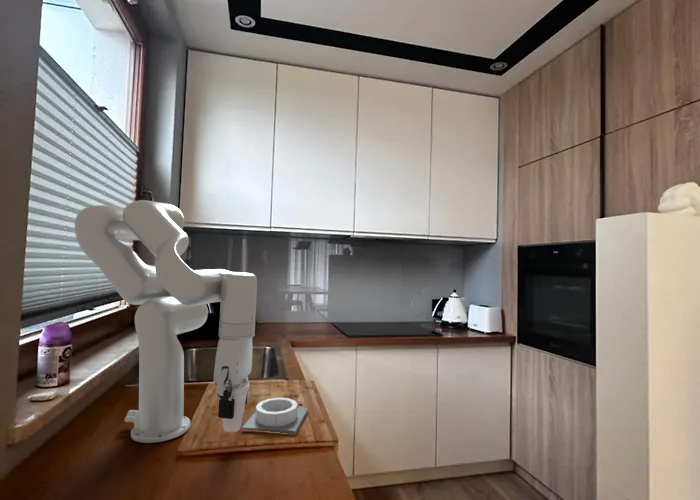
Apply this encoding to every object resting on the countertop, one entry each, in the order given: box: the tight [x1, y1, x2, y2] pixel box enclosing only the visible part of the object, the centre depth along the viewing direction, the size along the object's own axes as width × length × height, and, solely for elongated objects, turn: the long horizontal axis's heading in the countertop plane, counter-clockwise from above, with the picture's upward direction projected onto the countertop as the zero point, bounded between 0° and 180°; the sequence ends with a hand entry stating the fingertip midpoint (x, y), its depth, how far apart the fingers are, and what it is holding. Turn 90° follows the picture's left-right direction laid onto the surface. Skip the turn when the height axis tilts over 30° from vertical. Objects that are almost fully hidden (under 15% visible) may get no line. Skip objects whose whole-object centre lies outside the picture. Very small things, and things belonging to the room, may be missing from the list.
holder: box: [241, 397, 309, 436], centre depth 96 cm, size 13×13×4 cm
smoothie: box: [222, 380, 250, 433], centre depth 83 cm, size 6×6×14 cm
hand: (233, 409), depth 83 cm, fingers closed on smoothie, 6 cm apart
